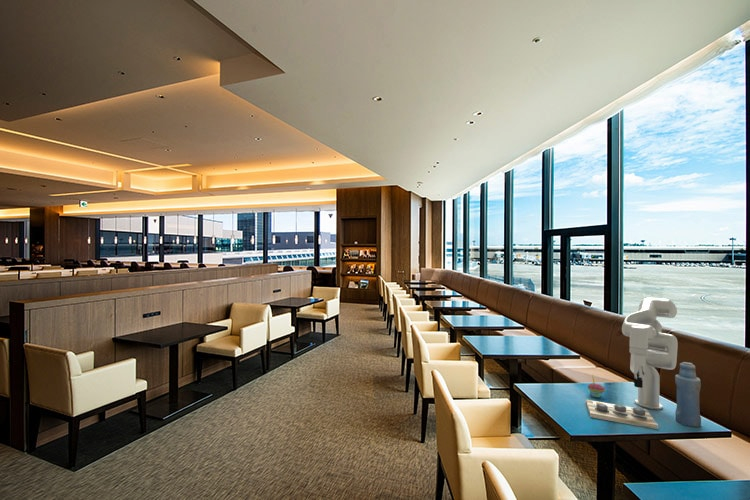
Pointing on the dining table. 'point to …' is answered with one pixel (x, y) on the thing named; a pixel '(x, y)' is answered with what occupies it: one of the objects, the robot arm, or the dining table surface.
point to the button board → (622, 416)
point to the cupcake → (596, 389)
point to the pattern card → (611, 405)
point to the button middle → (620, 408)
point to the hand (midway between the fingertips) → (638, 386)
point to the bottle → (688, 396)
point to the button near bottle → (639, 411)
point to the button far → (602, 407)
